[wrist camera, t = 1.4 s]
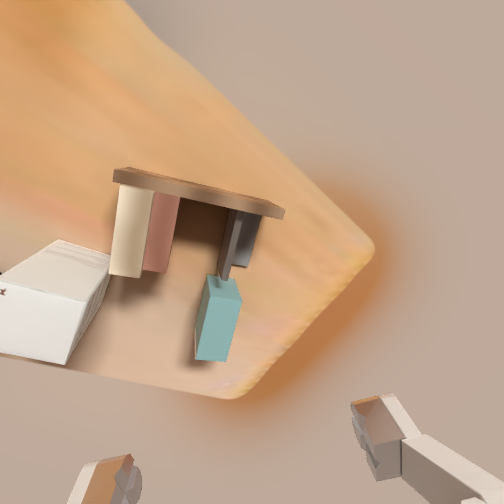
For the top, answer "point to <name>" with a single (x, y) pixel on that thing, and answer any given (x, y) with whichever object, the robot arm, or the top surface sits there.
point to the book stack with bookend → (164, 221)
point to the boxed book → (216, 319)
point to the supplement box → (51, 301)
